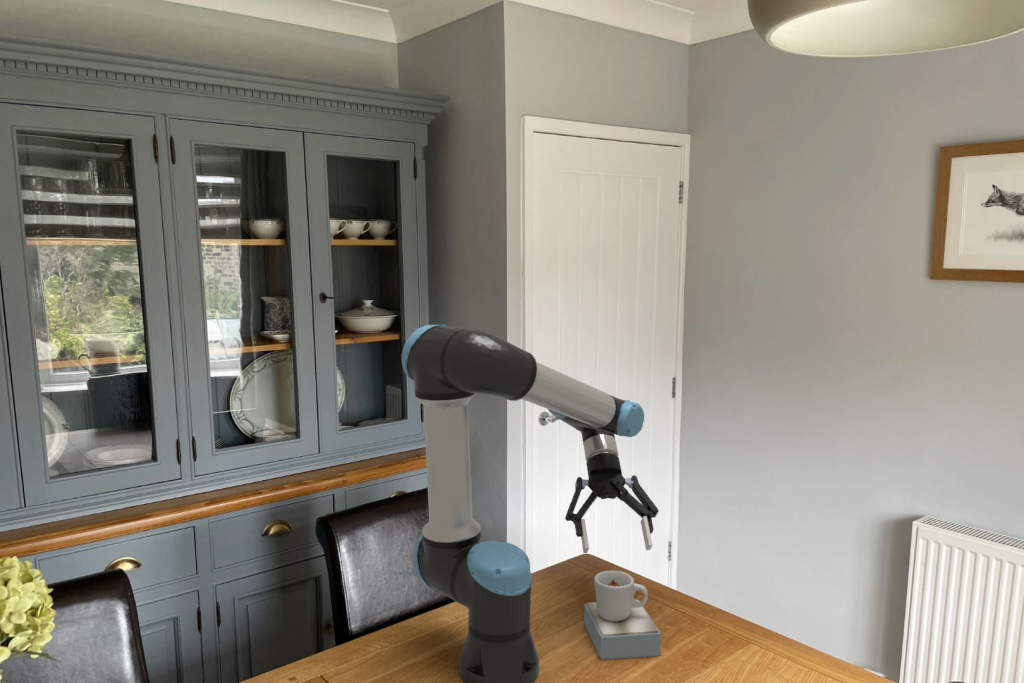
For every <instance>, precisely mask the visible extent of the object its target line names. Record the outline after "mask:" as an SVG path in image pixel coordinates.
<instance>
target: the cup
mask: <svg viewBox="0 0 1024 683" xmlns="http://www.w3.org/2000/svg"><path fill="white" fill-rule="evenodd" d="M593 579H594V590H595V591H594V592H595V602H596V605H597V611H598V614H599V615H600V616H601V617H602V618H603V619H606V620H609V621H622V620H624V619H626V618H627V617H628V616H629V613H630V610H631V608H634V607H644V606H645V605H646V604H647V603H648V596H649V595H648V589H647V588H646V587H645V586H644V585H643V584H639V583H636V582H635V580H634V578H633V576H631V575H630V573H629V574H628V573H627V572H625V571H620V570H604V571H603V570H602V571H601V572H598V573H597V574H596V575H595V576H594V578H593ZM637 591H641V592H642V594H643V597H642V599H641V601H640V602H636V601H635V600H636V599H635V597H634V596H635V593H636V592H637Z"/></svg>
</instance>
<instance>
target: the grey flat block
mask: <svg viewBox="0 0 1024 683" xmlns="http://www.w3.org/2000/svg"><path fill="white" fill-rule="evenodd" d="M634 600H635V601H636V602H641V601H640V600H639V599H634ZM583 615H584V616H583V617H584V618H583V619H584V620H583V622H584V627H585V628H586V631H587V634H588V636H589V638H590V641H592V645H593V646H594V649H595V651H596V653H597V655H598V657H599V660H600V661H604V660H605V661H606V660H618V659H621V660H622V659H632V658H635V659H636V658H646V657H647V658H648V657H659V656H661V643H662V642H661V640H662V639H661V638H662V633H661V631H660V630H659V629H658V628H659V627H657V626H656V624H655V622H654V621H653V620H652V617H651V616H650V615H649V613H648V611H647V610H646V608H645V607H644V606H643V607H634V608H631V610H630V613H629V616H628V617H627V618H626V619H624V620H622V621H609V620H606V619H603V618H602V617H601V616H600V615H599V614H598V611H597V605H596V601H594V602H593V601H591V602H587V603H584V614H583Z"/></svg>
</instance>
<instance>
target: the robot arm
mask: <svg viewBox="0 0 1024 683" xmlns="http://www.w3.org/2000/svg"><path fill="white" fill-rule="evenodd" d="M401 365H402V369H403V372H404V373H405V374H406V375H407V377H408V378H409V379H410V380H412V381H413V382H414V398H415V399H416V400H417V401H418V402H419V403H420V404H422V405H423V419H424V420H423V423H424V425H423V426H424V442H425V445H424V446H425V462H426V483H427V484H426V485H427V501H428V522H427V523H426V524H425V525H424V527H423V528H422V533H421V535H420V536H419V537H418V538H417V544H415V545H414V548H413V552H412V566H413V570H414V573H415V574H416V576H417V578H418V579H419V580H420V581H421V582H422V583H423V584H425V585H426V586H427V587H428V588H429V589H431V590H433V591H434V592H437V593H440V594H442V595H444V596H445V597H448V598H449V599H450V600H451V599H452V601H455V602H456V603H458V604H460V605H462V606H464V607H465V608H467V612H468V613H467V614H468V616H467V618H468V619H467V620H468V625H467V626H468V627H467V629H468V631H467V634H466V637H465V640H464V642H463V646H462V649H461V652H460V654H459V661H458V665H459V666H458V669H459V670H458V671H459V675H460V678H461V679H462V681H463V682H465V683H533V682H535V680H536V679H537V677H538V676H539V673H540V658H539V654H538V651H537V648H536V645H535V642H534V639H533V635H532V633H531V601H532V600H531V599H532V598H531V597H532V573H531V572H532V571H531V562H530V559H529V556H528V554H526V552H525V551H524V549H521V547H518V546H517V545H515V544H512V543H510V542H507V541H502V542H500V541H499V540H486V541H482V534H481V532H482V530H481V529H482V528H481V524H480V523H479V522H478V521H476V520H475V519H474V518H473V501H472V500H473V498H472V497H473V496H472V494H473V493H472V476H471V474H472V473H471V469H472V468H471V451H470V450H471V448H470V447H471V446H470V445H471V444H470V426H469V425H470V424H469V422H470V421H469V402H470V400H472V398H473V397H475V395H476V394H478V395H479V394H480V395H488V396H494V397H499V398H501V399H502V398H503V399H505V400H508V401H511V402H514V401H515V402H517V401H520V400H523V401H526V402H528V403H531V404H534V405H536V406H539V407H542V408H544V409H547V410H548V412H549V413H551V415H553V416H554V417H555V418H556V420H560V421H562V422H564V423H565V424H566V425H568V426H570V427H571V428H574V429H575V430H577V431H578V432H580V433H581V438H582V446H583V450H584V457H585V461H586V463H585V464H586V470H587V475H588V476H587V477H588V479H583V477H581V476H577V478H576V480H575V484H574V485H575V486H574V488H575V489H574V490H575V491H574V494H573V496H572V499H571V501H570V504H569V507H568V509H567V512H566V515H565V517H564V519H565V521H567V522H573V523H572V524H573V525H574V529H575V535H576V537H577V538H580V540H581V547H582V553H583V554H588V551H589V550H590V544H589V540H588V539H589V538H588V532H587V524H586V519H585V518H583V517H584V516H585V514H586V513H587V512H588V511H589V509H590V507H591V506H592V505H593V504H594V502H595V501H596V500H597V498H599V499H600V500H605V499H606V500H607V499H610V500H612V499H613V500H615V499H616V498H617V499H619V500H620V501H621V502H624V503H625V504H626V505H627V506H628V507H629V508H630V509H631V510H632V511H633V512H634V513H636V514H637V515H638V516H639V517H640V518H641V520H640V526H641V531H642V535H643V536H642V537H643V541H644V545H645V546H644V547H645V551H650V550H651V549H652V548H653V545H654V544H653V540H652V534H653V532H654V529H655V528H654V524H653V520H652V519H654V518H656V517H657V515H658V514H659V511H660V510H659V508H658V507H657V506H656V504H655V503H654V501H653V500H652V499H651V498H650V496H649V495H648V493H646V491H645V490H644V488H643V487H642V486H641V485H640V482H639V480H638V477H637V475H635V474H634V475H631V477H626V478H625V477H624V476H623V473H622V471H623V470H622V467H621V461H620V458H619V451H618V447H617V442H616V437H615V435H617V436H619V437H626V438H632V437H636V436H637V435H638V434H640V432H641V431H642V429H643V427H644V425H643V424H644V422H645V411H644V409H643V407H642V405H640V403H638V402H634V401H631V400H628V399H621V398H619V397H616V396H613V395H611V394H609V393H607V392H605V391H603V390H600V389H598V388H596V387H593V386H591V385H589V384H587V383H585V382H582V381H580V380H578V379H576V378H573V377H572V376H569V375H567V374H565V373H563V372H561V371H558V370H555V369H553V368H552V367H549V366H546V365H544V364H542V363H540V362H538V361H537V359H536V358H535V356H534V355H533V354H532V353H531V352H528V351H526V350H524V349H522V348H520V347H518V346H517V345H514V344H512V343H510V342H508V341H506V340H504V339H502V338H500V337H499V336H496V335H494V334H492V333H490V332H487V331H483V330H480V329H477V328H475V329H474V328H467V327H460V326H454V325H453V326H451V325H447V324H426V325H424V326H421V327H419V328H417V329H416V330H414V331H413V333H411V335H410V337H408V338H407V340H406V342H405V344H404V345H403V348H402V352H401ZM625 485H626V486H628V489H631V491H632V493H633V494H634V495H635V497H636V498H637V499H636V498H635V497H634V496H633V495H632V494H631V493H630V492H629V490H628V489H627V488H626V487H625ZM586 487H588V488H589V489H590V490H591V493H590V494H589V496H588V497H587V499H586V500H585V501H584V503H583V504H581V507H580V508H579V510H577V513H574V511H575V509H576V506H577V503H578V500H579V498H580V495H581V493H582V490H585V489H586Z"/></svg>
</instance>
